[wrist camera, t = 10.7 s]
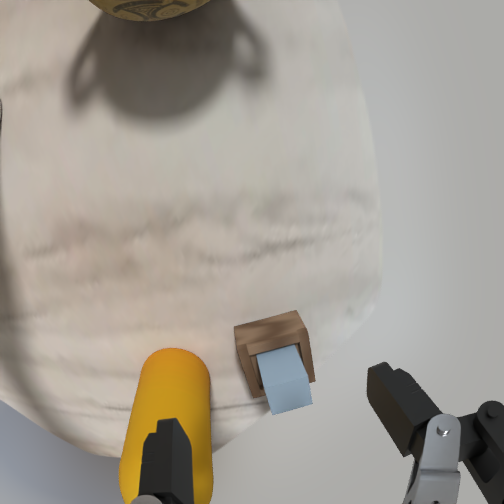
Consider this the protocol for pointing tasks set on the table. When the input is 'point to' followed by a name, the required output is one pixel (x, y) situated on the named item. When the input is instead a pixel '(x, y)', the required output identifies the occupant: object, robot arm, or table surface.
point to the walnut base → (271, 345)
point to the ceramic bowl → (147, 8)
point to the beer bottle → (170, 406)
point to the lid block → (284, 379)
